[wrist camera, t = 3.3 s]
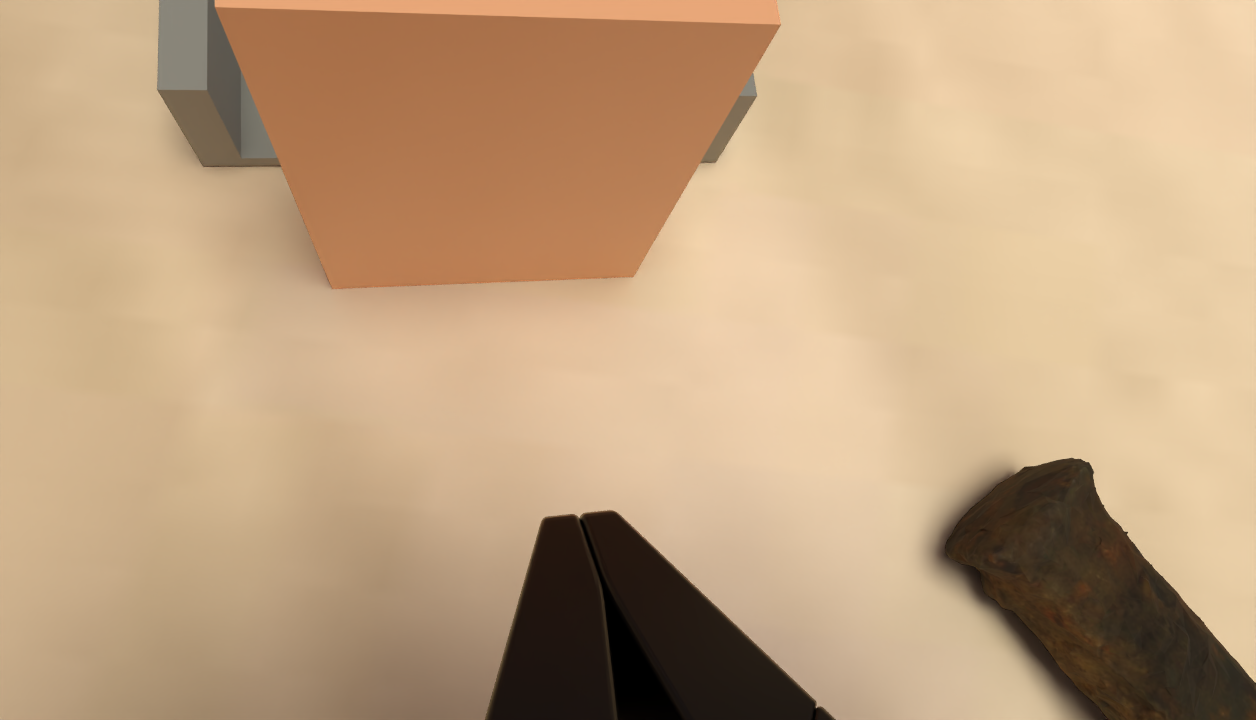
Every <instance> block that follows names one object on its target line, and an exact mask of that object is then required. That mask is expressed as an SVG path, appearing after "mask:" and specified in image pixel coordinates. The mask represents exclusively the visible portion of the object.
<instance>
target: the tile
mask: <svg viewBox="0 0 1256 720" xmlns="http://www.w3.org/2000/svg"><path fill="white" fill-rule="evenodd" d="M215 9H216V11H217V14H218V16H219V19H220V21H221V23H222V26H223V28H224V31H225V33H226V35H227V38H228V40H229V43H230V45H231V47H232V50H233V52H234V55H235V57H236V59H237V62H238V64H239V67H240V69H241V71H242V74H243V76H244V79H245V81H246V83H247V86H248V88H249V91H250V93H251V95H252V98H253V100H254V103H255V105H256V107H257V110H258V112H259V115H260V117H261V119H262V122H263V124H264V127H265V129H266V131H267V134H268V136H269V139H270V141H271V143H272V146H273V148H274V151H275V153H276V155H277V158H278V160H279V163H280V165H281V167H282V170H283V172H284V175H285V177H286V179H287V182H288V184H289V187H290V189H291V191H292V194H293V196H294V199H295V201H296V203H297V206H298V208H299V211H300V213H301V215H302V218H303V220H304V223H305V225H306V227H307V230H308V232H309V235H310V237H311V239H312V242H313V244H314V247H315V249H316V251H317V254H318V256H319V259H320V261H321V263H322V266H323V268H324V271H325V273H326V275H327V278H328V280H329V283H330V285H331V287H332V289H342V288H367V287H392V286H417V285H442V284H466V283H491V282H516V281H541V280H566V279H591V278H616V277H634V275H635V273H636V271H637V270H638V268H639V266H640V265H641V263H642V261H643V259H644V258H645V256H646V254H647V253H648V251H649V249H650V247H651V246H652V244H653V242H654V241H655V239H656V237H657V235H658V234H659V232H660V230H661V229H662V227H663V225H664V224H665V222H666V220H667V218H668V217H669V215H670V213H671V212H672V210H673V208H674V206H675V205H676V203H677V201H678V200H679V198H680V196H681V194H682V193H683V191H684V189H685V188H686V186H687V184H688V182H689V181H690V179H691V177H692V176H693V174H694V172H695V171H696V169H697V167H698V165H699V164H700V162H701V160H702V159H703V157H704V155H705V153H706V152H707V150H708V148H709V147H710V145H711V143H712V141H713V140H714V138H715V136H716V135H717V133H718V131H719V129H720V128H721V126H722V124H723V123H724V121H725V119H726V117H727V116H728V114H729V112H730V111H731V109H732V107H733V106H734V104H735V102H736V100H737V99H738V97H739V95H740V94H741V92H742V90H743V88H744V87H745V85H746V83H747V82H748V80H749V78H750V76H751V75H752V73H753V71H754V70H755V68H756V66H757V64H758V63H759V61H760V59H761V58H762V56H763V54H764V53H765V51H766V49H767V47H768V46H769V44H770V42H771V41H772V39H773V37H774V35H775V34H776V32H777V30H778V29H779V27H780V25H781V23H780V17H779V12H778V6H777V1H776V0H215Z"/></svg>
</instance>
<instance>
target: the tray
mask: <svg viewBox="0 0 1256 720" xmlns="http://www.w3.org/2000/svg"><path fill="white" fill-rule="evenodd" d="M157 90H158V92H159V93H160V95H161V97H162V98H163V100H164V102H165V103H166V105H167V107H168V108H169V110H170V112H171V113H172V115H173V117H174V118H175V120H176V122H177V123H178V125H179V127H180V128H181V130H182V132H183V133H184V135H185V137H186V138H187V140H188V142H189V143H190V145H191V146H192V148H193V150H194V151H195V153H196V155H197V156H198V158H199V160H200V161H201V163H202V165H203V166H281V165H280V163H279V160H278V158H277V155H276V153H275V151H274V148H273V146H272V143H271V141H270V139H269V136H268V134H267V131H266V129H265V127H264V124H263V122H262V119H261V117H260V115H259V112H258V110H257V107H256V105H255V103H254V100H253V98H252V95H251V93H250V91H249V88H248V86H247V83H246V81H245V79H244V76H243V74H242V71H241V69H240V67H239V64H238V62H237V59H236V57H235V55H234V52H233V50H232V47H231V45H230V43H229V40H228V38H227V35H226V33H225V31H224V28H223V26H222V23H221V21H220V19H219V16H218V14H217V11H216V9H215V0H159V39H158V82H157ZM756 97H757V93H756V87H755V81H754V75H753V73H752V75H751V76H750V78H749V80H748V82H747V83H746V85H745V87H744V88H743V90H742V92H741V94H740V95H739V97H738V99H737V100H736V102H735V104H734V106H733V107H732V109H731V111H730V112H729V114H728V116H727V117H726V119H725V121H724V123H723V124H722V126H721V128H720V129H719V131H718V133H717V135H716V136H715V138H714V140H713V141H712V143H711V145H710V147H709V148H708V150H707V152H706V153H705V155H704V157H703V159H702V160H701V162H716V161H717V160H718V158H719V156H720V155H721V153H722V152H723V150H724V148H725V147H726V145H727V143H728V142H729V140H730V139H731V137H732V135H733V134H734V132H735V131H736V129H737V127H738V126H739V124H740V123H741V121H742V119H743V118H744V116H745V115H746V113H747V111H748V110H749V108H750V107H751V105H752V103H753V102H754V100H755V98H756Z"/></svg>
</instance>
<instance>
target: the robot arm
mask: <svg viewBox="0 0 1256 720" xmlns="http://www.w3.org/2000/svg"><path fill="white" fill-rule="evenodd" d="M485 720H836V719H834V718H833V717H832V716H831V715H830V714H829V713H828V712H827V711H826V710H825V709H824V708H823V707H817V708H816V701H815V700H814V699H813V698H812V697H811V696H810V695H809V694H808V693H807V692H806V691H805V690H804V689H803V688H801V687H800V686H799V685H798V684H797V683H796V682H795V681H794V680H793V679H792V678H791V677H790V676H789V675H788V674H787V673H786V672H785V671H784V670H783V669H782V668H780V667H779V666H778V665H777V664H776V663H775V662H774V661H773V660H772V659H771V658H770V657H769V656H768V655H767V654H766V653H765V652H764V651H763V650H762V649H760V648H759V647H758V646H757V645H756V644H755V643H754V642H753V641H752V640H751V639H750V638H749V637H748V636H747V635H746V634H745V633H744V632H743V631H742V630H741V629H739V628H738V627H737V626H736V625H735V624H734V623H733V622H732V621H731V620H730V619H729V618H728V617H727V616H726V615H725V614H724V613H723V612H722V611H721V610H720V609H718V608H717V607H716V606H715V605H714V604H713V603H712V602H711V601H710V600H709V599H708V598H707V597H706V596H705V595H704V594H703V593H702V592H701V591H700V590H698V589H697V588H696V587H695V586H694V585H693V584H692V583H691V582H690V581H689V580H688V579H687V578H686V577H685V576H684V575H683V574H682V573H681V572H680V571H679V570H677V569H676V568H675V567H674V566H673V565H672V564H671V563H670V562H669V561H668V560H667V559H666V558H665V557H664V556H663V555H662V554H661V553H660V552H659V551H658V550H656V549H655V548H654V547H653V546H652V545H651V544H650V543H649V542H648V541H647V540H646V539H645V538H644V537H643V536H642V535H641V534H640V533H639V532H638V531H636V530H635V529H634V528H633V527H632V526H631V525H630V524H629V523H628V522H627V521H626V520H625V519H624V518H623V517H622V516H621V515H620V514H618V513H617V512H615V511H612V510H607V511H598V512H588V513H583V514H582V515H581V516H580V518H579V517H578V516H577V515H575V514H568V515H559V516H549V517H545V518H544V519H543V520H542V522H541V524H540V528H539V531H538V535H537V538H536V542H535V545H534V549H533V552H532V556H531V559H530V563H529V566H528V570H527V573H526V577H525V580H524V584H523V587H522V591H521V594H520V598H519V601H518V605H517V608H516V612H515V615H514V619H513V622H512V626H511V629H510V633H509V636H508V640H507V643H506V647H505V650H504V654H503V657H502V661H501V664H500V668H499V671H498V675H497V678H496V682H495V685H494V689H493V692H492V696H491V699H490V703H489V706H488V710H487V713H486V717H485Z"/></svg>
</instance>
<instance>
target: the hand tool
mask: <svg viewBox="0 0 1256 720" xmlns="http://www.w3.org/2000/svg"><path fill="white" fill-rule="evenodd" d="M1093 474H1094V471H1093V469H1092V467H1091V465H1090V463H1089V462H1085V461H1083V460H1081V459H1074V458H1069V459H1062V460H1056V461H1053V462H1049V463H1045V464H1041V465H1038V466H1031V467H1024V468H1023V469H1022V470H1021V471H1019V472H1018V473H1016V474H1015V475H1013V476H1012V477H1010V478H1008V479H1007V480H1005V481H1003V482H1002V483H1000V484H998V485H997V486H996V487H995V488H994V489H993V491H992V492H991V493H990V494H989V495H988V496H986V497H985V498H984V499H982V500H981V501H980V502H979V503H977V504H976V505H975V506H974V507H972V508H971V509H970V510H969V511H968V513H967V514H966V515H965V516H964V517H963V518H962V519H961V520H960V522H959V523H958V524H957V526H956V527H955V529H954V531H953V533H952V535H951V536H950V538H949V539H948V540H947V543H946V547H945V552H946V554H947V555H948V556H949V558H951V559H953V560H955V561H957V562H959V563H961V564H964V565H970V566H974V567H975V568H976V569H977V570H978V571H979V572H980V578H981V583H982V586H983V590H984V593H985V594H986V595H988V596H989V597H990V598H992V599H993V600H996V601H997V602H998V603H999V605H1000V606H1001V607H1002V608H1004V609H1008V610H1011V611H1014V612H1015V613H1016V614H1017V615H1018V616H1019V618H1020V619H1021V620H1022V621H1023V622H1024V624H1025V625H1026V626H1027V627H1028V628H1029V629H1030V630H1031V631H1032V632H1033V633H1034V634H1035V635H1036V636H1037V637H1038V638H1039V639H1040V641H1041V642H1042V643H1043V644H1044V646H1045V647H1046V648H1047V650H1048V651H1049V652H1050V654H1051V655H1052V657H1053V658H1054V660H1055V661H1056V662H1057V664H1058V665H1059V667H1060V669H1061V670H1062V671H1063V672H1064V673H1065V674H1066V675H1067V676H1068V677H1069V678H1070V679H1071V680H1072V681H1073V683H1074V684H1075V685H1076V687H1077V688H1078V689H1079V690H1080V691H1081V692H1082V693H1084V694H1085V695H1086V696H1087V697H1088V698H1089V699H1091V700H1092V701H1093V702H1094V703H1095V704H1096V705H1097V706H1098V707H1099V708H1100V710H1101V711H1102V712H1103V713H1104V715H1105V716H1106V717H1107V718H1108V719H1109V720H1256V683H1255V682H1254V681H1253V680H1252V679H1251V678H1250V677H1249V675H1248V674H1247V673H1246V672H1245V670H1244V669H1243V668H1242V667H1241V666H1240V664H1239V663H1238V662H1237V661H1236V660H1235V659H1234V658H1233V657H1232V656H1231V655H1230V654H1229V652H1228V651H1227V650H1226V649H1225V648H1224V646H1223V645H1222V644H1221V643H1220V642H1219V641H1218V640H1217V639H1216V638H1215V636H1214V635H1213V634H1212V633H1211V632H1210V630H1209V629H1208V628H1207V627H1206V625H1205V624H1204V622H1203V621H1202V620H1201V619H1200V618H1199V617H1198V616H1197V615H1196V614H1195V613H1194V612H1193V611H1192V610H1191V609H1190V608H1189V607H1188V605H1187V604H1186V603H1185V602H1184V601H1183V599H1182V598H1181V597H1180V595H1179V594H1178V593H1177V592H1176V590H1175V589H1174V588H1173V587H1172V586H1171V585H1170V584H1169V583H1168V582H1167V581H1166V580H1165V579H1164V578H1163V576H1161V575H1160V574H1159V573H1158V572H1157V571H1156V570H1155V569H1154V568H1153V567H1152V565H1150V563H1149V562H1148V561H1147V560H1146V559H1145V558H1144V557H1143V555H1142V554H1141V553H1140V551H1139V550H1138V549H1137V547H1136V546H1135V544H1134V543H1133V542H1132V541H1131V540H1130V539H1129V537H1128V536H1127V533H1128V532H1124V531H1123V529H1122V528H1121V526H1120V525H1119V524H1118V523H1117V522H1115V521H1114V520H1113V519H1112V518H1111V517H1110V515H1109V514H1108V513H1107V511H1106V510H1105V508H1104V505H1102V503H1101V501H1100V498H1099V496H1098V494H1097V492H1096V488H1095V485H1094V479H1093Z"/></svg>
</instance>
